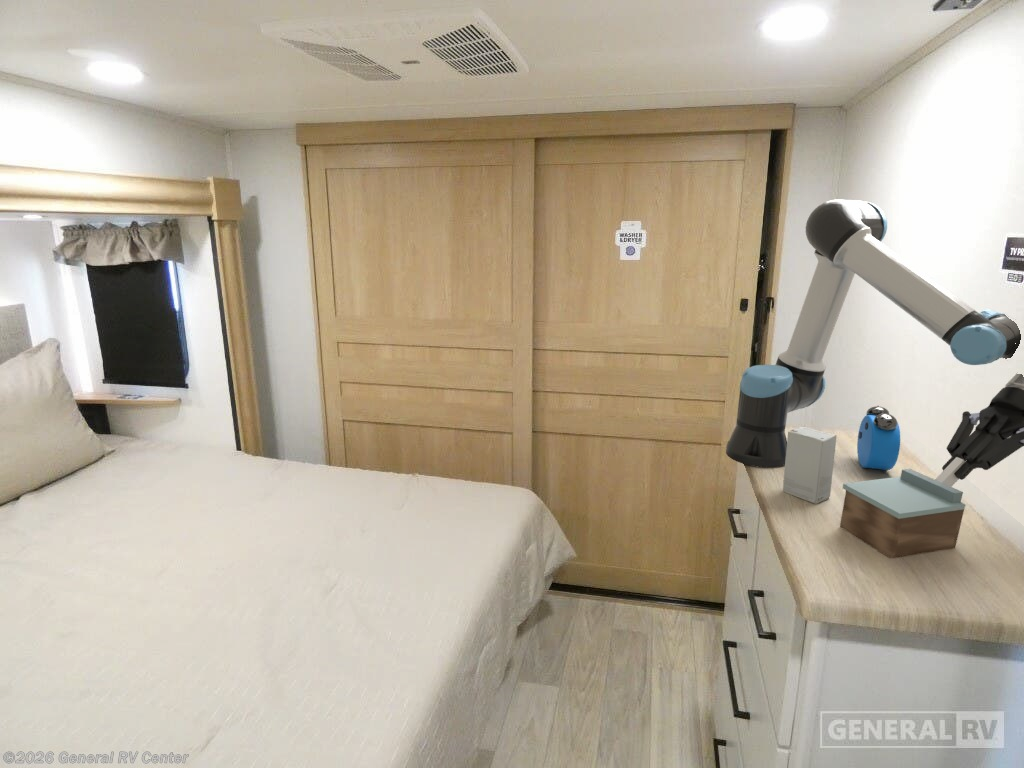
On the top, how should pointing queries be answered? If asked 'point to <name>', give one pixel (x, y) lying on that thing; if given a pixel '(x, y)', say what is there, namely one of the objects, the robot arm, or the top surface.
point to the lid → (908, 494)
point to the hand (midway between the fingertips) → (939, 486)
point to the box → (899, 529)
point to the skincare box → (809, 464)
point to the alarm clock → (878, 440)
